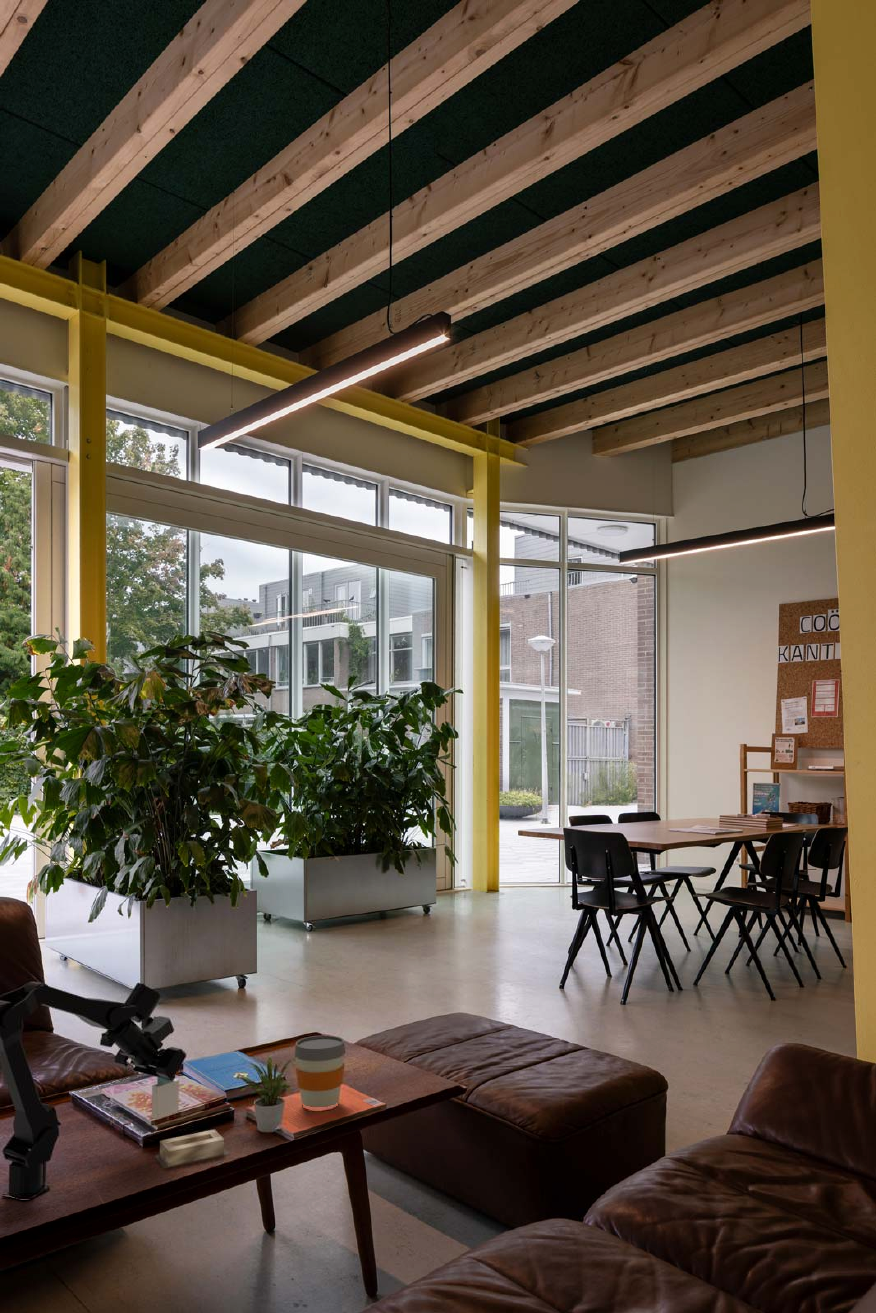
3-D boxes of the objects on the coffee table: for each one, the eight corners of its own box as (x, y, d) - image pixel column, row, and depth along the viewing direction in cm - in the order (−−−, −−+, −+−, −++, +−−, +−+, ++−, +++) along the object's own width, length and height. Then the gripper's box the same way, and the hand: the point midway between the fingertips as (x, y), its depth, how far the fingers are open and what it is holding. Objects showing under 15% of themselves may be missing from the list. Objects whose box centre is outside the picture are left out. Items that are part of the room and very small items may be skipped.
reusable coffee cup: (332, 1116, 230) (331, 1050, 232) (285, 1111, 234) (285, 1046, 236) (354, 1099, 242) (353, 1037, 244) (309, 1094, 246) (309, 1033, 248)
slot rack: (168, 1166, 202) (168, 1151, 202) (159, 1155, 208) (160, 1140, 208) (224, 1153, 208) (224, 1139, 208) (214, 1143, 214) (214, 1129, 214)
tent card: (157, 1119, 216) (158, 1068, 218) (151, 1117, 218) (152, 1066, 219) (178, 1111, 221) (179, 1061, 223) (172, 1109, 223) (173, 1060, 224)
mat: (164, 1170, 201) (164, 1168, 201) (154, 1157, 208) (154, 1155, 208) (229, 1155, 208) (229, 1153, 208) (218, 1143, 215) (218, 1141, 215)
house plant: (280, 1112, 234) (280, 1042, 236) (315, 1126, 224) (314, 1053, 226) (229, 1128, 224) (229, 1055, 226) (263, 1143, 214) (263, 1067, 216)
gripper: (180, 1012, 214) (217, 1051, 222) (126, 1002, 224) (164, 1040, 232) (150, 1058, 207) (190, 1097, 214) (96, 1046, 217) (136, 1083, 225)
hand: (170, 1077), depth 222 cm, fingers closed on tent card, 2 cm apart
